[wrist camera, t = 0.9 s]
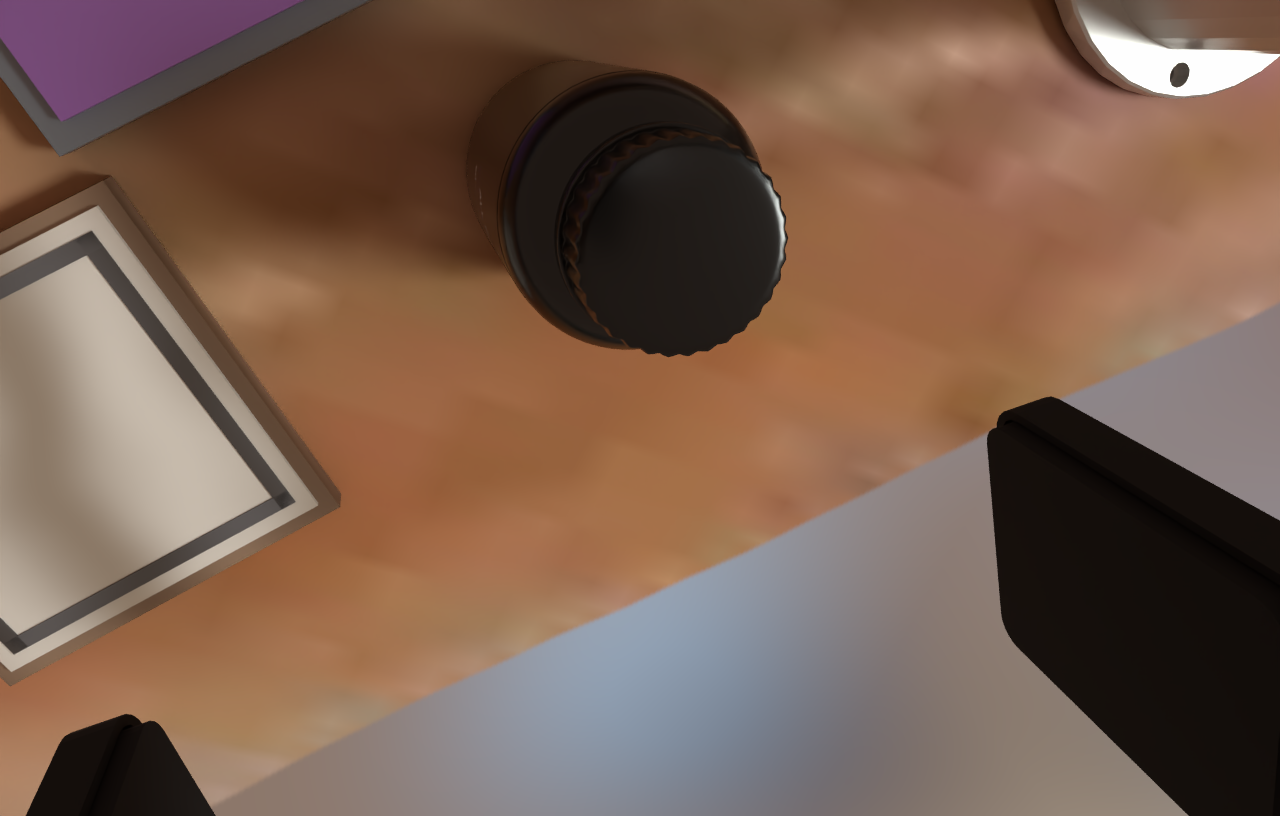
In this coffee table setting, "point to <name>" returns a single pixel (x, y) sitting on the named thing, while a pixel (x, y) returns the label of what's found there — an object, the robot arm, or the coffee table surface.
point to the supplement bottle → (626, 206)
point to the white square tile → (124, 434)
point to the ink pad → (135, 54)
